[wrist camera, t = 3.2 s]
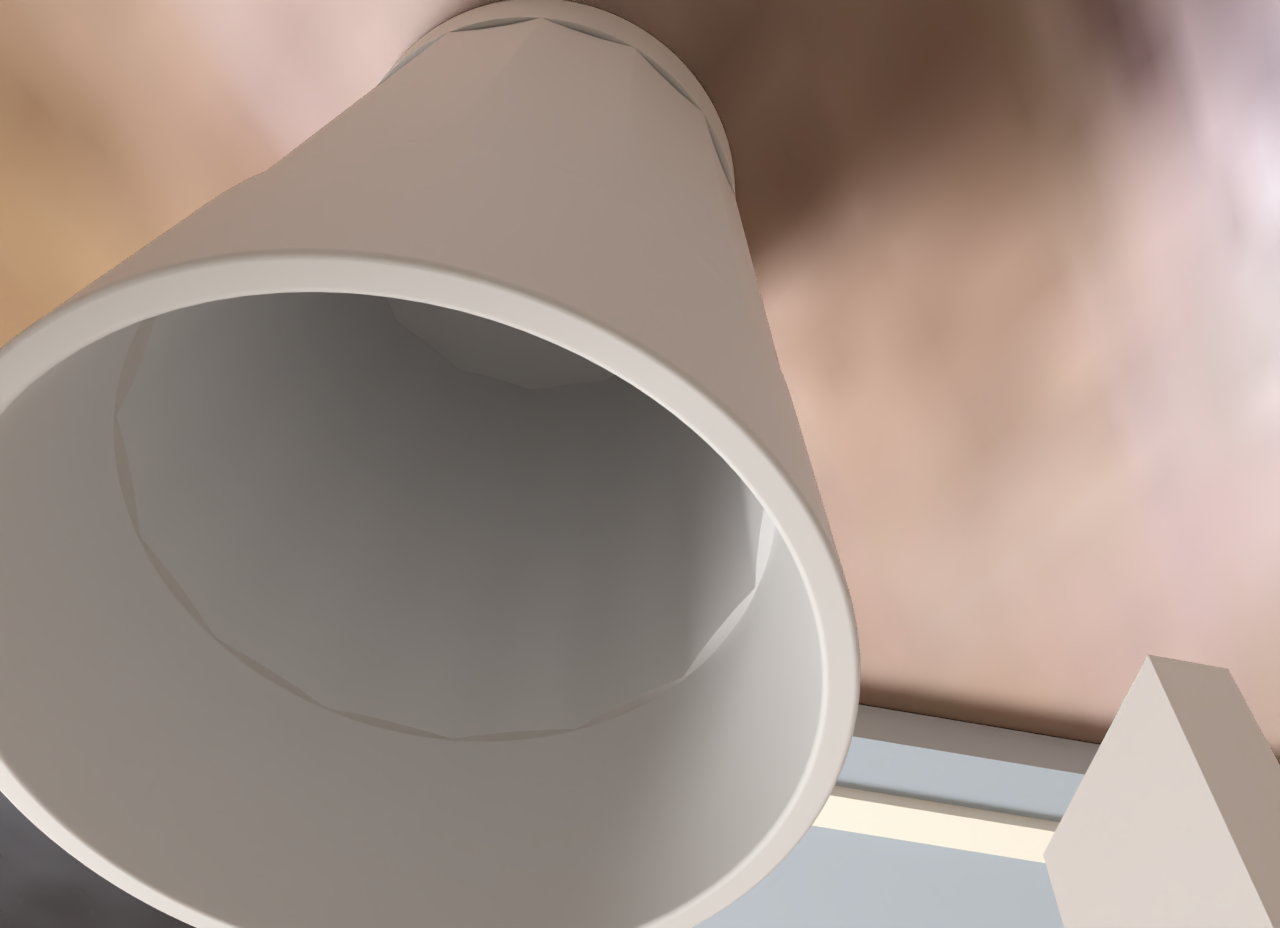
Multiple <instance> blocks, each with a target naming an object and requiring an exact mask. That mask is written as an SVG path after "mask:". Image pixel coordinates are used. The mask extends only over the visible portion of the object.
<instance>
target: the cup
mask: <svg viewBox="0 0 1280 928" xmlns="http://www.w3.org/2000/svg"><path fill="white" fill-rule="evenodd" d="M860 678H861V668H860V648H859V637H858V630H857V623H856V618H855V613H854V608H853V604H852V600H851V596H850V592H849V589H848V586H847V582H846V579H845V575H844V572H843V569H842V565H841V562H840V559H839V555H838V552H837V549H836V545H835V542H834V539H833V535H832V532H831V529H830V525H829V522H828V519H827V516H826V512H825V509H824V506H823V502H822V499H821V496H820V492H819V489H818V486H817V482H816V479H815V476H814V472H813V469H812V466H811V462H810V459H809V456H808V452H807V449H806V446H805V442H804V439H803V436H802V432H801V429H800V426H799V422H798V419H797V416H796V412H795V409H794V406H793V402H792V399H791V396H790V393H789V390H788V387H787V384H786V382H785V379H784V376H783V374H782V372H781V369H780V365H779V362H778V358H777V354H776V350H775V346H774V343H773V339H772V335H771V331H770V327H769V324H768V320H767V316H766V312H765V309H764V305H763V301H762V297H761V293H760V290H759V286H758V282H757V278H756V274H755V271H754V267H753V263H752V259H751V256H750V252H749V248H748V244H747V240H746V237H745V233H744V229H743V225H742V221H741V218H740V214H739V210H738V206H737V203H736V196H735V178H734V168H733V162H732V156H731V151H730V147H729V143H728V140H727V137H726V134H725V131H724V128H723V125H722V123H721V120H720V118H719V116H718V114H717V112H716V110H715V108H714V106H713V104H712V102H711V100H710V98H709V97H708V95H707V94H706V92H705V90H704V89H703V87H702V86H701V84H700V83H699V82H698V80H697V79H696V78H695V76H694V75H693V74H692V73H691V71H690V70H689V69H688V68H687V67H686V66H685V64H684V63H683V62H682V61H681V60H680V59H679V58H678V57H677V56H676V55H675V54H674V53H673V52H672V51H670V50H669V49H668V48H667V47H666V46H665V45H663V44H662V43H661V42H660V41H658V40H657V39H656V38H654V37H653V36H652V35H650V34H649V33H647V32H646V31H644V30H643V29H641V28H639V27H638V26H636V25H634V24H632V23H631V22H629V21H627V20H625V19H623V18H621V17H618V16H616V15H614V14H612V13H609V12H607V11H604V10H601V9H598V8H595V7H592V6H588V5H584V4H580V3H576V2H571V1H565V0H507V1H501V2H496V3H492V4H488V5H484V6H481V7H478V8H475V9H472V10H469V11H467V12H464V13H462V14H460V15H457V16H455V17H453V18H451V19H449V20H447V21H446V22H444V23H442V24H440V25H439V26H437V27H436V28H434V29H433V30H431V31H430V32H428V33H427V34H426V35H424V36H423V37H422V38H421V39H419V40H418V41H417V42H416V43H415V44H414V45H413V46H412V47H411V48H409V49H408V50H407V51H406V53H405V54H404V55H403V56H402V57H401V58H400V59H399V60H398V61H397V63H396V64H395V65H394V66H393V67H392V69H391V70H390V71H389V72H388V73H387V75H386V76H385V77H384V78H383V79H382V80H381V82H380V83H379V84H378V85H377V86H376V87H375V88H374V89H372V90H371V91H370V92H369V93H367V94H366V95H365V96H363V97H362V98H361V99H359V100H358V101H357V102H355V103H354V104H353V105H352V106H350V107H349V108H348V109H346V110H345V111H344V112H342V113H341V114H340V115H338V116H337V117H336V118H335V119H333V120H332V121H331V122H329V123H328V124H327V125H325V126H324V127H323V128H321V129H320V130H319V131H317V132H316V133H315V134H314V135H312V136H311V137H310V138H308V139H307V140H306V141H304V142H303V143H302V144H300V145H299V146H298V147H297V148H295V149H294V150H293V151H291V152H290V153H289V154H287V155H286V156H285V157H283V158H282V159H281V160H280V161H278V162H277V163H276V164H274V165H273V166H272V167H270V168H269V169H268V170H266V171H264V172H262V173H260V174H258V175H256V176H253V177H251V178H249V179H247V180H245V181H243V182H241V183H240V184H238V185H236V186H234V187H232V188H230V189H228V190H227V191H225V192H224V193H222V194H220V195H219V196H217V197H216V198H214V199H213V200H211V201H210V202H208V203H207V204H205V205H204V206H202V207H201V208H199V209H198V210H197V211H195V212H194V213H192V214H191V215H189V216H188V217H186V218H185V219H184V220H182V221H181V222H179V223H178V224H176V225H175V226H173V227H172V228H171V229H169V230H168V231H166V232H165V233H163V234H162V235H160V236H159V237H157V238H156V239H155V240H153V241H152V242H150V243H149V244H147V245H146V246H144V247H143V248H142V249H140V250H139V251H137V252H136V253H134V254H133V255H131V256H130V257H129V258H127V259H126V260H124V261H123V262H121V263H120V264H118V265H117V266H116V267H114V268H113V269H111V270H110V271H108V272H107V273H105V274H104V275H103V276H101V277H100V278H98V279H97V280H95V281H94V282H92V283H91V284H90V285H88V286H87V287H85V288H84V289H82V290H81V291H79V292H78V293H77V294H75V295H74V296H72V297H71V298H69V299H68V300H66V301H65V302H64V303H62V304H61V305H59V306H58V307H56V308H55V309H53V310H52V311H51V312H49V313H48V314H46V315H45V316H43V317H42V318H40V319H39V320H38V321H36V322H35V323H33V324H32V325H30V326H29V327H27V328H26V329H25V330H23V331H22V332H20V333H19V334H18V335H17V336H15V337H14V338H13V339H11V340H10V341H9V342H8V343H6V344H5V345H4V346H3V347H2V348H1V349H0V791H1V792H2V793H3V794H4V795H5V796H6V797H7V798H8V799H9V800H10V802H11V803H12V804H13V805H14V806H15V807H16V808H17V809H18V810H19V811H20V812H21V813H22V814H23V815H25V816H26V817H27V818H28V819H29V820H30V821H31V822H32V823H33V824H34V825H35V826H36V827H38V828H39V829H40V830H41V831H42V832H43V833H44V834H46V835H47V836H48V837H49V838H50V839H52V840H53V841H54V842H55V843H56V844H58V845H59V846H60V847H61V848H63V849H64V850H65V851H66V852H68V853H69V854H70V855H72V856H73V857H74V858H76V859H77V860H78V861H80V862H81V863H83V864H84V865H85V866H87V867H88V868H90V869H91V870H92V871H94V872H95V873H97V874H98V875H100V876H101V877H103V878H105V879H106V880H108V881H109V882H111V883H112V884H114V885H116V886H117V887H119V888H120V889H122V890H124V891H125V892H127V893H129V894H131V895H132V896H134V897H136V898H137V899H139V900H141V901H143V902H145V903H147V904H148V905H150V906H152V907H154V908H156V909H158V910H160V911H162V912H164V913H166V914H168V915H170V916H172V917H174V918H176V919H178V920H180V921H183V922H185V923H187V924H189V925H191V926H194V927H196V928H693V927H695V926H696V925H698V924H700V923H702V922H704V921H705V920H707V919H709V918H711V917H712V916H714V915H715V914H717V913H719V912H720V911H722V910H723V909H725V908H726V907H728V906H729V905H731V904H732V903H734V902H735V901H736V900H738V899H739V898H740V897H742V896H743V895H745V894H746V893H747V892H749V891H750V890H751V889H752V888H754V887H755V886H756V885H757V884H758V883H759V882H761V881H762V880H763V879H764V878H765V877H766V876H768V875H769V874H770V873H771V872H772V871H773V870H774V869H775V868H776V867H777V866H778V865H779V864H780V863H781V862H782V861H783V860H784V859H785V858H786V857H787V855H788V854H789V853H790V852H791V851H792V850H793V849H794V848H795V846H796V845H797V844H798V843H799V842H800V840H801V839H802V838H803V836H804V835H805V834H806V832H807V831H808V830H809V829H810V827H811V826H812V824H813V823H814V821H815V820H816V818H817V817H818V815H819V814H820V812H821V810H822V809H823V807H824V805H825V804H826V802H827V800H828V798H829V796H830V794H831V793H832V791H833V789H834V787H835V784H836V782H837V780H838V778H839V775H840V773H841V771H842V768H843V765H844V763H845V760H846V757H847V754H848V751H849V748H850V744H851V740H852V737H853V733H854V728H855V723H856V718H857V713H858V704H859V696H860Z"/></svg>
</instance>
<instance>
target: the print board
mask: <svg viewBox="0 0 1280 928" xmlns="http://www.w3.org/2000/svg"><path fill="white" fill-rule="evenodd" d="M1099 747H1100V745H1099V744H1093V743H1087V742H1081V741H1075V740H1069V739H1063V738H1057V737H1051V736H1045V735H1039V734H1033V733H1027V732H1021V731H1015V730H1009V729H1003V728H997V727H991V726H985V725H979V724H973V723H967V722H961V721H955V720H949V719H943V718H937V717H931V716H925V715H919V714H913V713H907V712H901V711H895V710H889V709H883V708H878V707H872V706H866V705H860V704H858V713H857V718H856V723H855V728H854V733H853V737H852V740H851V744H850V748H849V751H848V754H847V757H846V760H845V763H844V765H843V768H842V771H841V773H840V775H839V778H838V780H837V782H836V784H835V787H834V789H833V791H832V793H831V794H830V796H829V798H828V800H827V802H826V804H825V805H824V807H823V809H822V810H821V812H820V814H819V815H818V817H817V818H816V820H815V821H814V823H813V824H812V826H811V827H810V829H809V830H808V831H807V832H806V834H805V835H804V836H803V838H802V839H801V840H800V842H799V843H798V844H797V845H796V846H795V848H794V849H793V850H792V851H791V852H790V853H789V854H788V855H787V857H786V858H785V859H784V860H783V861H782V862H781V863H780V864H779V865H778V866H777V867H776V868H775V869H774V870H773V871H772V872H771V873H770V874H769V875H768V876H766V877H765V878H764V879H763V880H762V881H761V882H759V883H758V884H757V885H756V886H755V887H754V888H752V889H751V890H750V891H749V892H747V893H746V894H745V895H743V896H742V897H740V898H739V899H738V900H736V901H735V902H734V903H732V904H731V905H729V906H728V907H726V908H725V909H723V910H722V911H720V912H719V913H717V914H715V915H714V916H712V917H711V918H709V919H707V920H705V921H704V922H702V923H700V924H698V925H696V926H695V927H693V928H1064V926H1063V922H1062V919H1061V916H1060V912H1059V909H1058V905H1057V902H1056V898H1055V895H1054V891H1053V888H1052V884H1051V881H1050V877H1049V874H1048V870H1047V867H1046V863H1045V860H1044V856H1043V854H1044V852H1045V850H1046V848H1047V846H1048V844H1049V842H1050V840H1051V838H1052V836H1053V835H1054V833H1055V831H1056V829H1057V827H1058V825H1059V823H1060V821H1061V819H1062V817H1063V815H1064V814H1065V812H1066V810H1067V808H1068V806H1069V804H1070V802H1071V800H1072V798H1073V796H1074V795H1075V793H1076V791H1077V789H1078V787H1079V785H1080V783H1081V781H1082V779H1083V777H1084V775H1085V774H1086V772H1087V770H1088V768H1089V766H1090V764H1091V762H1092V760H1093V758H1094V756H1095V755H1096V753H1097V751H1098V749H1099Z"/></svg>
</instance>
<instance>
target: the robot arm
mask: <svg viewBox="0 0 1280 928" xmlns="http://www.w3.org/2000/svg"><path fill="white" fill-rule="evenodd" d="M1043 856H1044V860H1045V863H1046V867H1047V870H1048V874H1049V877H1050V881H1051V884H1052V888H1053V891H1054V895H1055V898H1056V902H1057V905H1058V909H1059V912H1060V916H1061V919H1062V922H1063V926H1064V928H1280V764H1279V763H1278V761H1277V759H1276V757H1275V755H1274V753H1273V751H1272V750H1271V748H1270V746H1269V744H1268V742H1267V740H1266V738H1265V737H1264V735H1263V733H1262V731H1261V729H1260V727H1259V725H1258V724H1257V722H1256V720H1255V718H1254V716H1253V714H1252V712H1251V710H1250V709H1249V707H1248V705H1247V703H1246V701H1245V699H1244V697H1243V696H1242V694H1241V692H1240V690H1239V688H1238V686H1237V684H1236V683H1235V681H1234V679H1233V677H1232V675H1231V673H1230V671H1229V670H1228V669H1226V668H1220V667H1215V666H1209V665H1203V664H1198V663H1192V662H1186V661H1181V660H1175V659H1169V658H1164V657H1158V656H1152V655H1147V657H1146V659H1145V661H1144V663H1143V665H1142V667H1141V669H1140V671H1139V673H1138V675H1137V676H1136V678H1135V680H1134V682H1133V684H1132V686H1131V688H1130V690H1129V692H1128V694H1127V695H1126V697H1125V699H1124V701H1123V703H1122V705H1121V707H1120V709H1119V711H1118V713H1117V715H1116V716H1115V718H1114V720H1113V722H1112V724H1111V726H1110V728H1109V730H1108V732H1107V734H1106V735H1105V737H1104V739H1103V741H1102V743H1101V745H1100V747H1099V749H1098V751H1097V753H1096V755H1095V756H1094V758H1093V760H1092V762H1091V764H1090V766H1089V768H1088V770H1087V772H1086V774H1085V775H1084V777H1083V779H1082V781H1081V783H1080V785H1079V787H1078V789H1077V791H1076V793H1075V795H1074V796H1073V798H1072V800H1071V802H1070V804H1069V806H1068V808H1067V810H1066V812H1065V814H1064V815H1063V817H1062V819H1061V821H1060V823H1059V825H1058V827H1057V829H1056V831H1055V833H1054V835H1053V836H1052V838H1051V840H1050V842H1049V844H1048V846H1047V848H1046V850H1045V852H1044V854H1043Z"/></svg>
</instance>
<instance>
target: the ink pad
mask: <svg viewBox="0 0 1280 928" xmlns="http://www.w3.org/2000/svg"><path fill="white" fill-rule="evenodd" d="M0 928H196V927H194V926H191V925H189V924H187V923H185V922H183V921H180V920H178V919H176V918H174V917H172V916H170V915H168V914H166V913H164V912H162V911H160V910H158V909H156V908H154V907H152V906H150V905H148V904H147V903H145V902H143V901H141V900H139V899H137V898H136V897H134V896H132V895H131V894H129V893H127V892H125V891H124V890H122V889H120V888H119V887H117V886H116V885H114V884H112V883H111V882H109V881H108V880H106V879H105V878H103V877H101V876H100V875H98V874H97V873H95V872H94V871H92V870H91V869H90V868H88V867H87V866H85V865H84V864H83V863H81V862H80V861H78V860H77V859H76V858H74V857H73V856H72V855H70V854H69V853H68V852H66V851H65V850H64V849H63V848H61V847H60V846H59V845H58V844H56V843H55V842H54V841H53V840H52V839H50V838H49V837H48V836H47V835H46V834H44V833H43V832H42V831H41V830H40V829H39V828H38V827H36V826H35V825H34V824H33V823H32V822H31V821H30V820H29V819H28V818H27V817H26V816H25V815H23V814H22V813H21V812H20V811H19V810H18V809H17V808H16V807H15V806H14V805H13V804H12V803H11V802H10V800H9V799H8V798H7V797H6V796H5V795H4V794H3V793H2V792H1V791H0Z"/></svg>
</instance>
